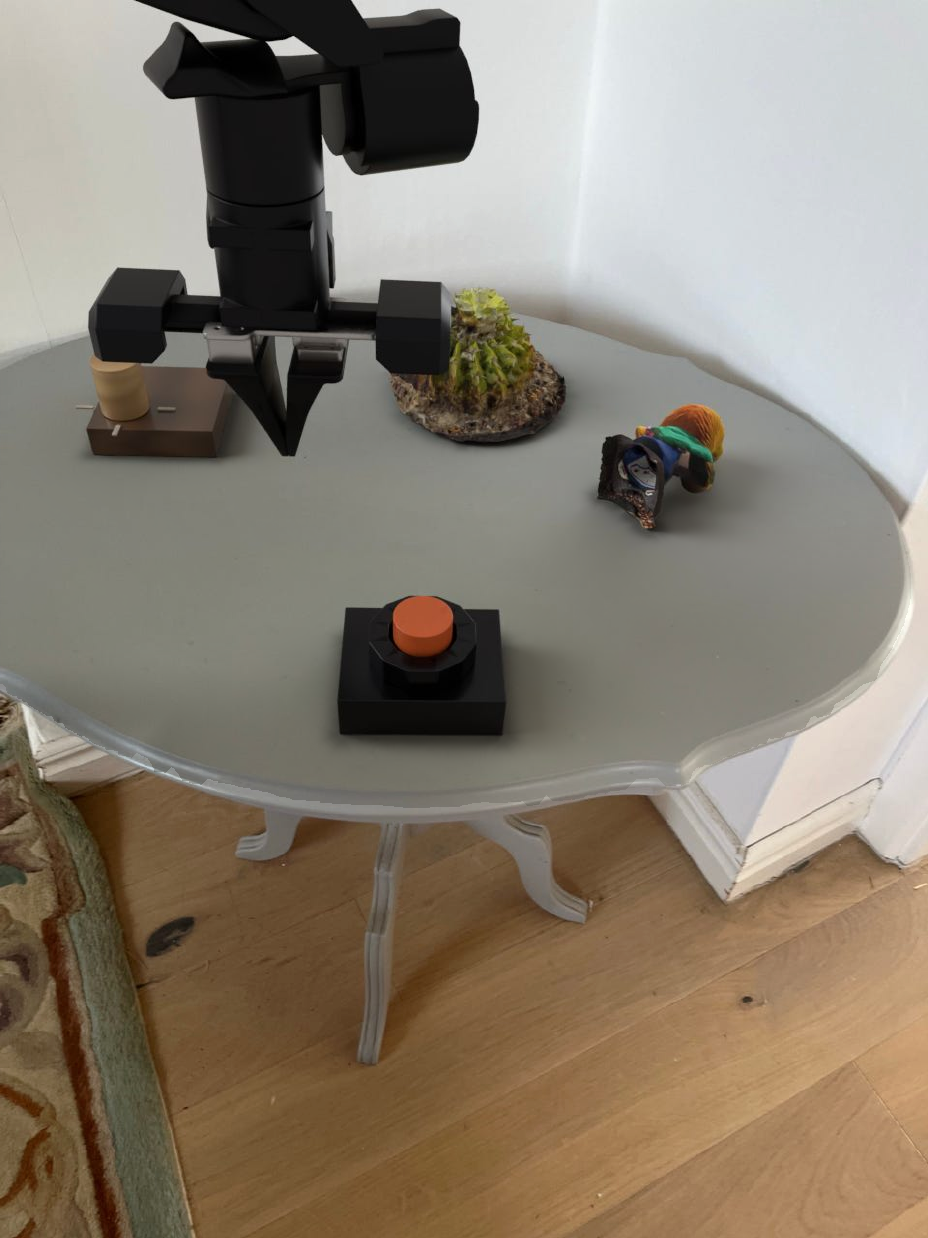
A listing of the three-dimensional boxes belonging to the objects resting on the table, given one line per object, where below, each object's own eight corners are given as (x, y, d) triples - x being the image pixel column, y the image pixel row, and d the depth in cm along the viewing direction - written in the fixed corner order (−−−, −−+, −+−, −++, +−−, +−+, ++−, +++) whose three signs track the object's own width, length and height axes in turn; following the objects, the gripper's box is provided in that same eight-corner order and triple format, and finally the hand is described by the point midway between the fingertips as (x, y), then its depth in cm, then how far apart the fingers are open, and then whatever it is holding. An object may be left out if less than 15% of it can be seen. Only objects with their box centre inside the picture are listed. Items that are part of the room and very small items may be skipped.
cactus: (574, 449, 82) (589, 344, 75) (386, 444, 81) (385, 338, 75) (557, 349, 94) (568, 251, 88) (394, 344, 94) (393, 245, 87)
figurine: (687, 446, 83) (701, 382, 79) (749, 493, 78) (768, 427, 74) (581, 485, 78) (591, 419, 74) (640, 536, 74) (654, 469, 70)
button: (392, 657, 57) (392, 636, 56) (393, 615, 60) (393, 594, 59) (452, 658, 57) (453, 637, 56) (451, 616, 60) (452, 595, 59)
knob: (145, 421, 78) (133, 368, 74) (97, 420, 77) (83, 367, 74) (153, 396, 80) (142, 343, 77) (107, 395, 80) (94, 343, 77)
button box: (339, 734, 59) (335, 679, 55) (347, 641, 64) (344, 586, 61) (502, 736, 59) (508, 681, 56) (496, 643, 65) (501, 588, 61)
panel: (70, 461, 78) (62, 433, 76) (103, 389, 85) (97, 362, 84) (214, 464, 78) (209, 436, 76) (234, 393, 86) (230, 366, 84)
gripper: (455, 139, 53) (444, 388, 64) (113, 121, 52) (161, 377, 63) (456, 218, 45) (444, 488, 56) (52, 199, 44) (119, 477, 55)
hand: (289, 452), depth 58 cm, fingers closed
